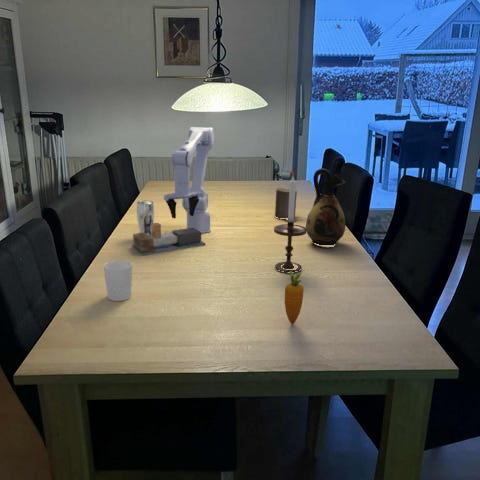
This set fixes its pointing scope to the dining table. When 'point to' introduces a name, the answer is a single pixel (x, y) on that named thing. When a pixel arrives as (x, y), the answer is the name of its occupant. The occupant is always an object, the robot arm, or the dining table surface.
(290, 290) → the carrot
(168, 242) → the grey slider with handle
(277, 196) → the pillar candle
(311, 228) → the ceramic jug
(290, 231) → the candlestick
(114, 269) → the white cup
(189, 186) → the robot arm
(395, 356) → the dining table surface
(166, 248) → the outer sleeve
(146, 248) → the socket block
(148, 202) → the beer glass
